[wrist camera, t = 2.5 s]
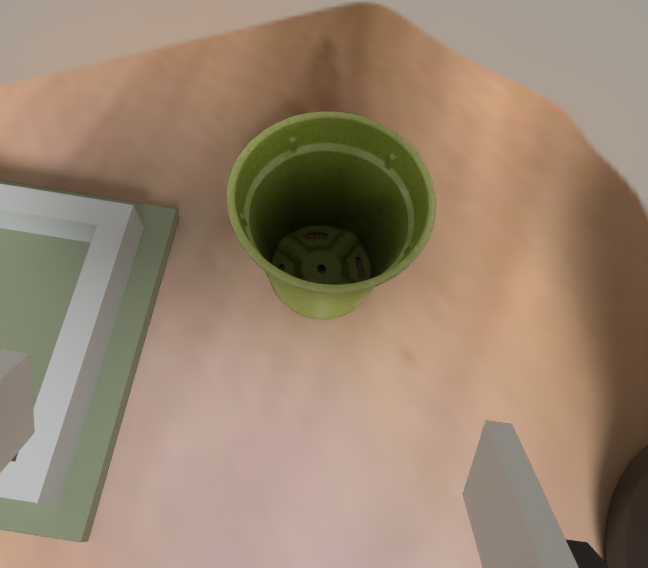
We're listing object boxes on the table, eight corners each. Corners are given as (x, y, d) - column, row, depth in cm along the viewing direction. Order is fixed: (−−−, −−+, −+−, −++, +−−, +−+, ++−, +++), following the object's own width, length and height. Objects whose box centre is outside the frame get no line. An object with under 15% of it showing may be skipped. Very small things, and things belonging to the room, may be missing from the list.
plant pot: (233, 210, 33) (216, 118, 25) (381, 194, 35) (411, 101, 27) (250, 358, 30) (238, 305, 22) (414, 334, 31) (459, 276, 23)
